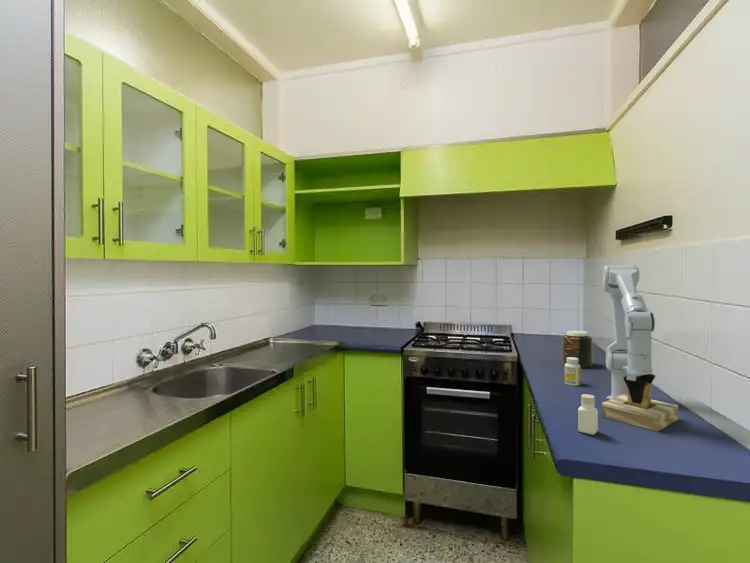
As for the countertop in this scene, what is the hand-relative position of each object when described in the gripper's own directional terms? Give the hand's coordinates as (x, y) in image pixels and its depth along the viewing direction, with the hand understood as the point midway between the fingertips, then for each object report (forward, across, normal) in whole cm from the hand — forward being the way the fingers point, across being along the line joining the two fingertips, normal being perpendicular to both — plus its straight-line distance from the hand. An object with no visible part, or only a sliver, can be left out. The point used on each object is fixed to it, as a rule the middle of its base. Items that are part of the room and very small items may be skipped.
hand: (639, 400), depth 116 cm
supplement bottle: (+5, -22, -28) cm, 36 cm away
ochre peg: (+2, 0, 0) cm, 2 cm away
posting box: (+5, 0, 0) cm, 5 cm away
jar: (+5, -52, -39) cm, 65 cm away
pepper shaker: (+5, +20, -6) cm, 22 cm away
